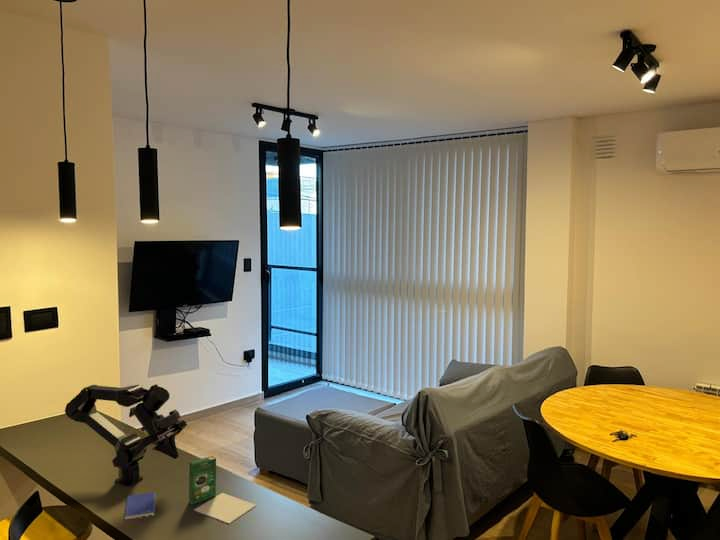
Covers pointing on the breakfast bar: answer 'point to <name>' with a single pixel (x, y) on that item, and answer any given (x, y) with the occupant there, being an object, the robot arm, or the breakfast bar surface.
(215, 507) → the mat
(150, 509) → the hard drive
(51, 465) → the breakfast bar surface
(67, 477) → the breakfast bar surface
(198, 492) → the coffee box
